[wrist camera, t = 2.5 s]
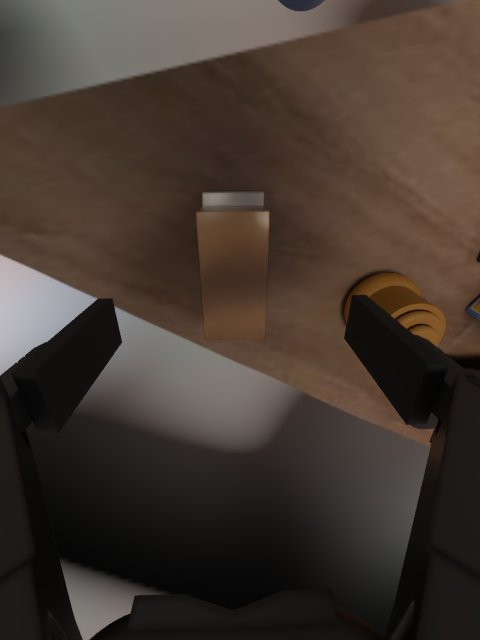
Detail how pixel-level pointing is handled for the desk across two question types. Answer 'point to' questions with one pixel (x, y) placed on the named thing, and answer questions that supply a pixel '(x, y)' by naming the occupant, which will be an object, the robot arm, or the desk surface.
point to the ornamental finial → (403, 304)
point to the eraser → (233, 264)
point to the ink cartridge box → (474, 308)
